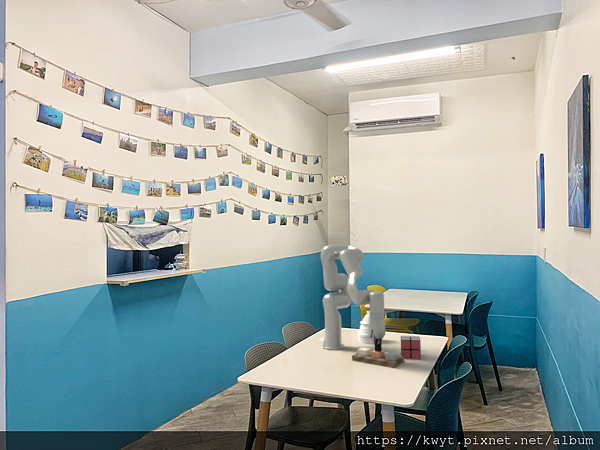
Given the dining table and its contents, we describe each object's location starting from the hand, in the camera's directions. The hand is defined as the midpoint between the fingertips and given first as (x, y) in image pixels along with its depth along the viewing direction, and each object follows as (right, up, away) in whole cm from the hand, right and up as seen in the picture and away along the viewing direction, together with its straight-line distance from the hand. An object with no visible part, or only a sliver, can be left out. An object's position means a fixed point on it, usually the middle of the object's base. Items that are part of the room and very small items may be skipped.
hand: (378, 351), depth 237 cm
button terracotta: (0, -3, 0) cm, 3 cm away
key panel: (0, -5, 0) cm, 5 cm away
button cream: (-6, -3, +5) cm, 9 cm away
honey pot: (+2, -6, +43) cm, 44 cm away
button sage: (+6, -3, -5) cm, 8 cm away
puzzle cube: (+19, -6, +8) cm, 21 cm away
